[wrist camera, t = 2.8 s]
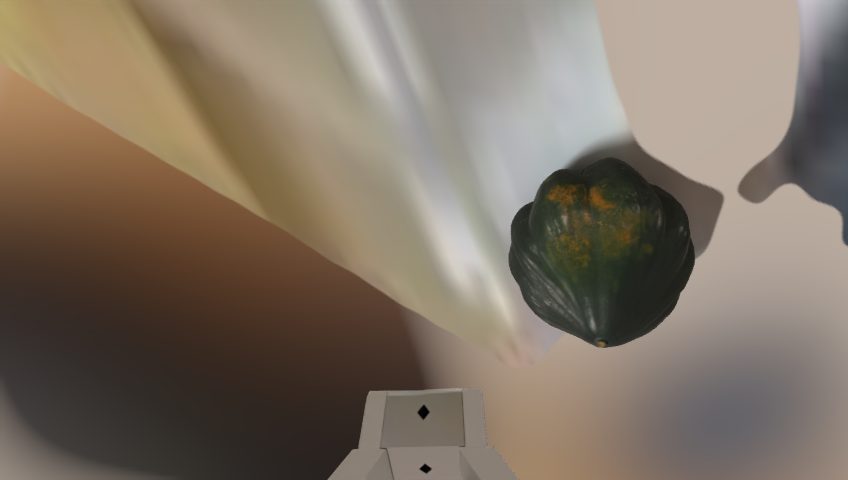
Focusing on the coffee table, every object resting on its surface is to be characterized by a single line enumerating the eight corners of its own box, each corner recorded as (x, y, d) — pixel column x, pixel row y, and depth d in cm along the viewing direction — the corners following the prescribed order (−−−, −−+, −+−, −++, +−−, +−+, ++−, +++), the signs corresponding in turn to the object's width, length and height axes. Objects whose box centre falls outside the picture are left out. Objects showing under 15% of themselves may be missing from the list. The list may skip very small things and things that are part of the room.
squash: (725, 139, 31) (644, 263, 24) (711, 288, 39) (647, 416, 32) (550, 132, 41) (453, 219, 34) (567, 253, 49) (492, 345, 42)
